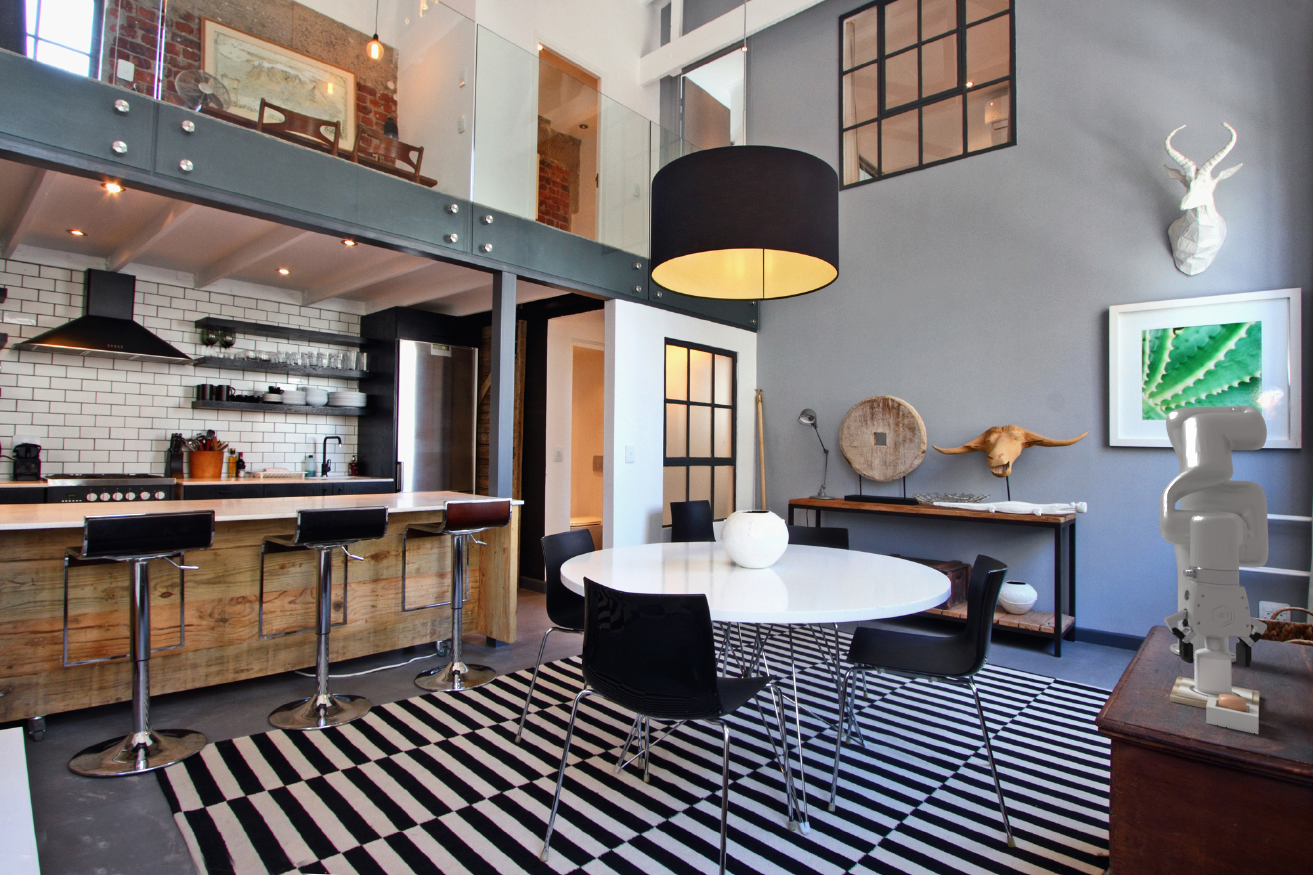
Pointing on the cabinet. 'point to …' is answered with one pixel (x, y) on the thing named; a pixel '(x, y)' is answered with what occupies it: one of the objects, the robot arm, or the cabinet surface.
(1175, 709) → the cabinet surface
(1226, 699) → the button
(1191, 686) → the cream flat rectangular panel
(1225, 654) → the eye dropper bottle
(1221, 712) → the button housing
